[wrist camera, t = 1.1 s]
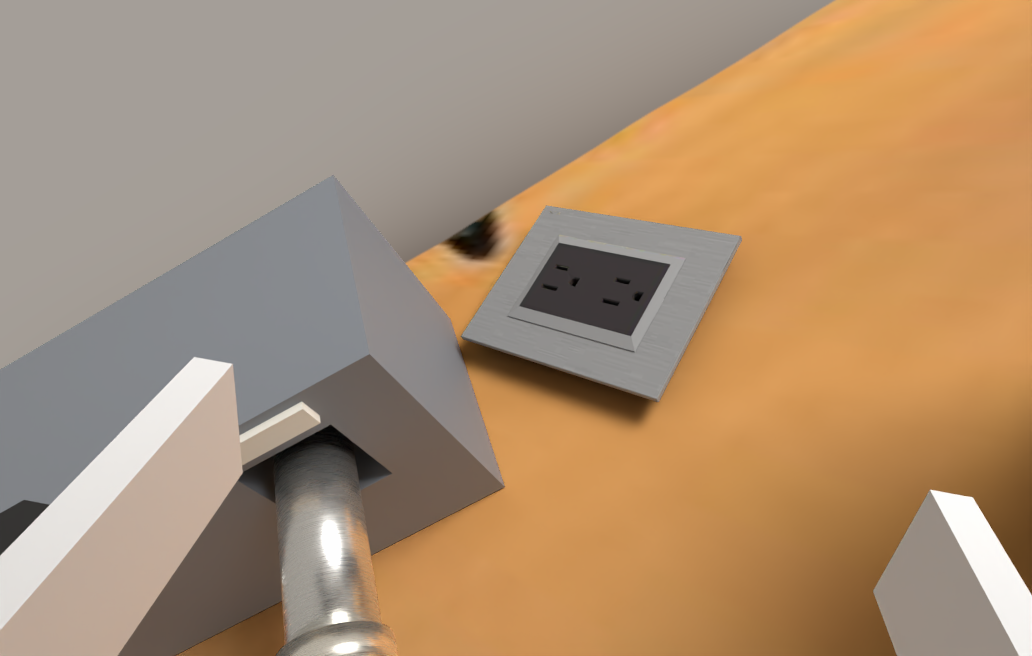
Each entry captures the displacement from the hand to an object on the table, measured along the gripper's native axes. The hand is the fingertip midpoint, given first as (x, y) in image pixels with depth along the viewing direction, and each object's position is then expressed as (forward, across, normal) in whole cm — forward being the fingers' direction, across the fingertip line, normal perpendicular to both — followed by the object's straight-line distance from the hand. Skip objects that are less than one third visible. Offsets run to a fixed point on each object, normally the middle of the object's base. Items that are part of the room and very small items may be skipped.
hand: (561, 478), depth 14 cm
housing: (+20, -15, -23) cm, 34 cm away
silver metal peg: (+10, -7, -16) cm, 21 cm away
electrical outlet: (+27, +2, -11) cm, 29 cm away
